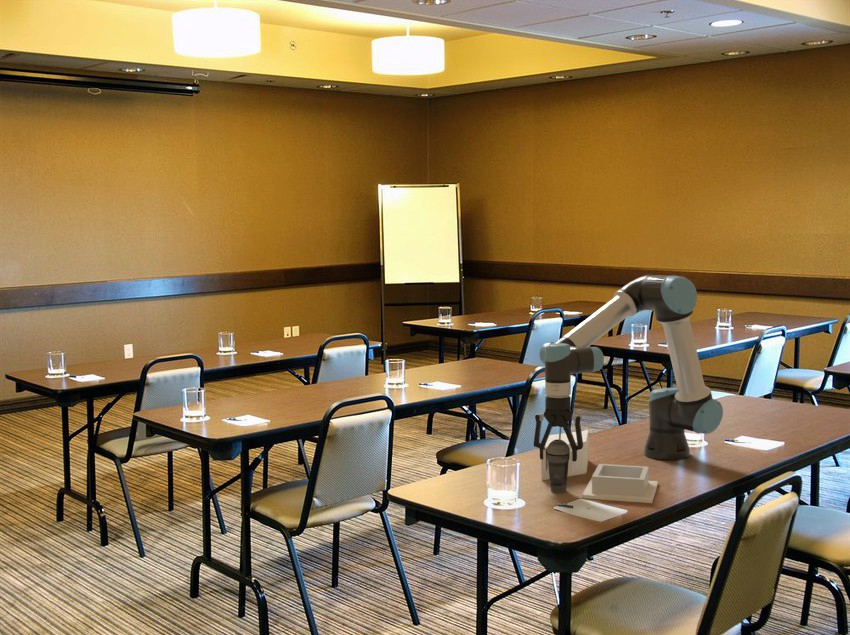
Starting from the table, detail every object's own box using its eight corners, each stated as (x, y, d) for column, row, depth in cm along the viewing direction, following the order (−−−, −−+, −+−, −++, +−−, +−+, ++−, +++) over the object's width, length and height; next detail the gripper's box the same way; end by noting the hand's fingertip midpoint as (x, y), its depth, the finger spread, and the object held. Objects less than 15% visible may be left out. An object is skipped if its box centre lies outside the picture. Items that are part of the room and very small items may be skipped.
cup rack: (592, 480, 292) (592, 461, 292) (657, 484, 286) (657, 465, 286) (582, 498, 274) (582, 478, 273) (652, 503, 267) (652, 482, 267)
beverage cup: (560, 485, 287) (559, 421, 285) (575, 491, 281) (575, 425, 279) (541, 489, 283) (540, 424, 281) (556, 495, 277) (556, 429, 275)
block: (608, 464, 312) (608, 432, 311) (562, 484, 289) (562, 450, 288) (568, 457, 321) (568, 427, 320) (521, 477, 298) (521, 444, 297)
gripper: (522, 396, 279) (522, 471, 281) (590, 399, 272) (590, 476, 274) (527, 392, 286) (528, 465, 288) (593, 394, 279) (594, 469, 282)
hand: (558, 470), depth 281 cm, fingers closed on beverage cup, 7 cm apart
